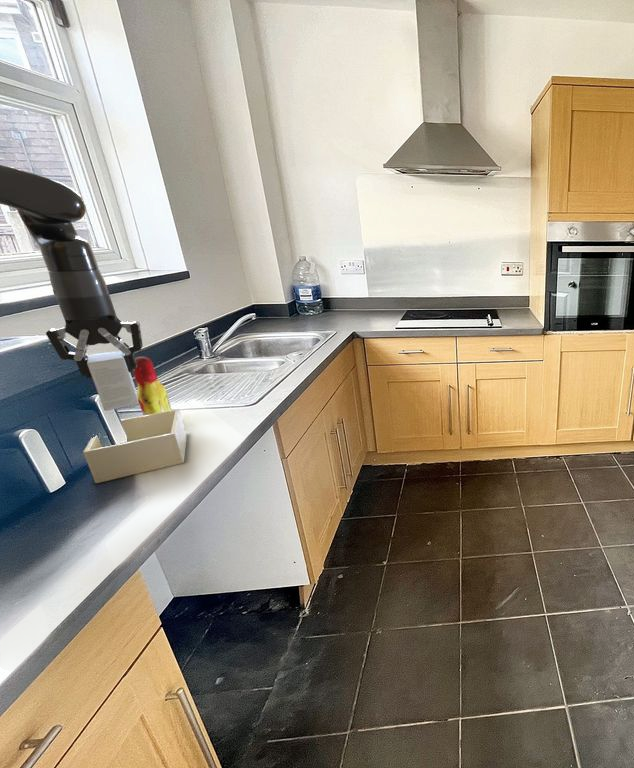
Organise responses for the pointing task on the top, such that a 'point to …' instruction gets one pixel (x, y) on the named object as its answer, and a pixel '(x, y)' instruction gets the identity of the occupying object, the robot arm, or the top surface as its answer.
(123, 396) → the small box
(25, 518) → the top surface
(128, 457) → the beige open box
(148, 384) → the bottle
